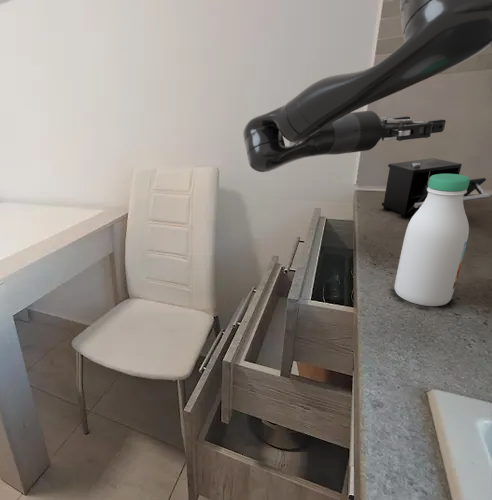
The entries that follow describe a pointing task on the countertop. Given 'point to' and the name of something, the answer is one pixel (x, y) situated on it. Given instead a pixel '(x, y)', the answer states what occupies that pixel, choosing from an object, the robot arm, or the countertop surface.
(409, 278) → the milk bottle
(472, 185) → the oven door
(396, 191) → the black box with rod
